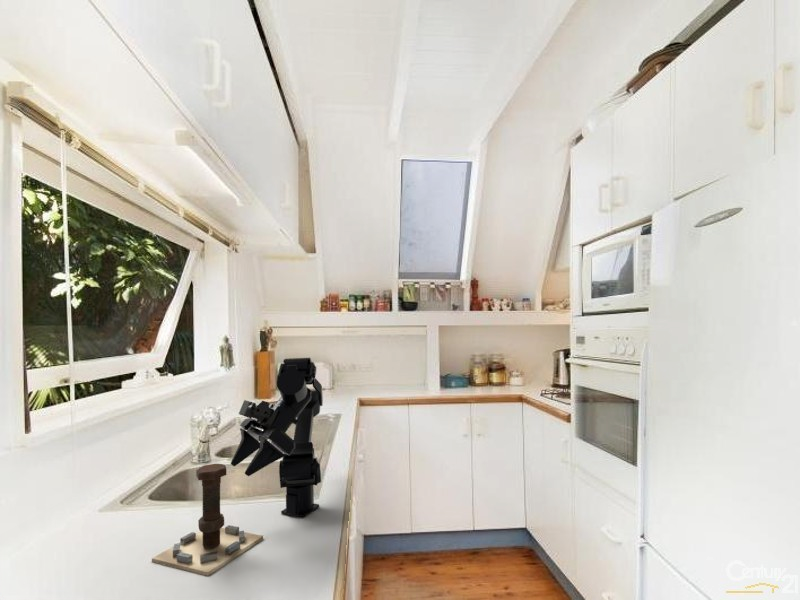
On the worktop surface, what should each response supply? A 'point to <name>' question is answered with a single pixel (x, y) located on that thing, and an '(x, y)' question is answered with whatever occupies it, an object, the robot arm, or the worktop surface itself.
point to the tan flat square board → (197, 549)
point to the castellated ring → (210, 556)
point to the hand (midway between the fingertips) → (239, 469)
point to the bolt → (211, 504)
